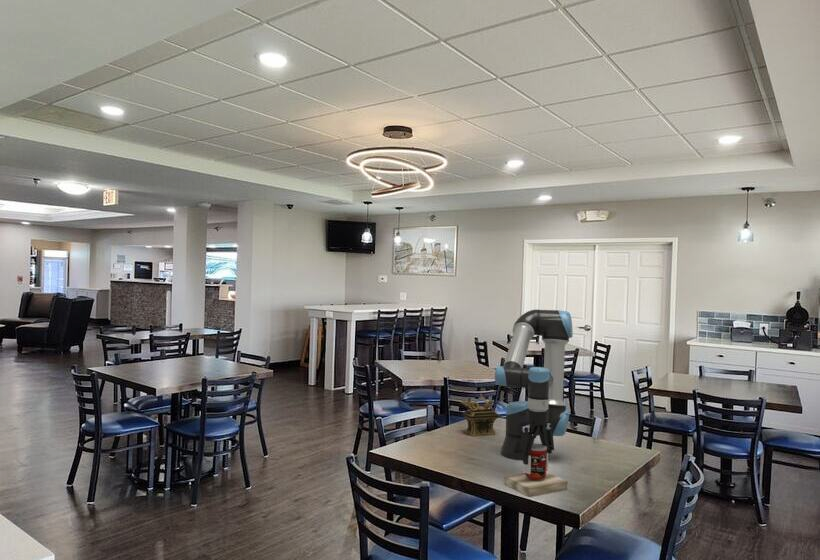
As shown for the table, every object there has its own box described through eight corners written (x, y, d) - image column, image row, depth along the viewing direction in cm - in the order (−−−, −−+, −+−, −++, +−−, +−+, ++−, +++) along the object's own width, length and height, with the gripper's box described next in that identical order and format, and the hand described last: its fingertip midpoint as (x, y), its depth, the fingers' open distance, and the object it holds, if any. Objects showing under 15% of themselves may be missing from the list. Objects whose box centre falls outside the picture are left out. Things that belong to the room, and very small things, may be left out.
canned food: (523, 478, 204) (524, 447, 204) (525, 471, 211) (526, 442, 211) (545, 480, 201) (546, 450, 202) (546, 474, 209) (547, 444, 209)
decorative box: (489, 430, 289) (491, 392, 289) (499, 435, 280) (500, 395, 280) (455, 432, 281) (456, 393, 282) (463, 437, 272) (465, 397, 273)
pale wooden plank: (504, 484, 208) (504, 476, 208) (540, 477, 217) (540, 469, 217) (529, 496, 195) (530, 488, 196) (567, 489, 204) (567, 481, 204)
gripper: (523, 414, 198) (521, 478, 198) (565, 409, 208) (563, 470, 208) (509, 409, 205) (507, 472, 204) (551, 405, 215) (549, 464, 215)
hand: (536, 471), depth 206 cm, fingers closed on canned food, 8 cm apart
